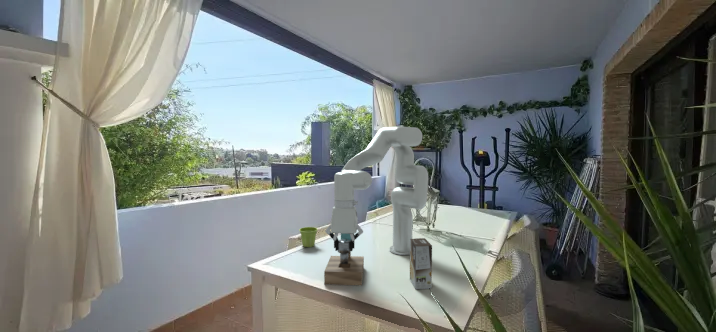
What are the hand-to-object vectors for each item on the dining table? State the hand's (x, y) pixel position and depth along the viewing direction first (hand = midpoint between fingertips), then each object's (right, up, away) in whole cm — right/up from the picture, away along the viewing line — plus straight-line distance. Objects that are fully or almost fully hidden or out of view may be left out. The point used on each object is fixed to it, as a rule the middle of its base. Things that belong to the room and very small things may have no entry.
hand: (344, 249), depth 119 cm
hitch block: (0, -11, +3) cm, 12 cm away
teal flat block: (+1, +5, +8) cm, 9 cm away
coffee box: (+29, -12, -4) cm, 31 cm away
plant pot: (-20, -9, +39) cm, 45 cm away
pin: (0, -5, 0) cm, 5 cm away
